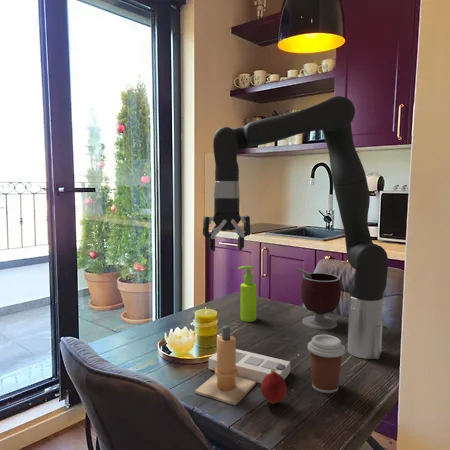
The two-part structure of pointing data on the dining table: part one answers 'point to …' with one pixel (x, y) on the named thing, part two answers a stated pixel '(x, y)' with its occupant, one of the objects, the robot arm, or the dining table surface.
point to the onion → (273, 387)
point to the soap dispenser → (248, 296)
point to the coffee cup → (325, 362)
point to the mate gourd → (320, 298)
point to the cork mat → (229, 396)
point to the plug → (226, 360)
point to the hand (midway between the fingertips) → (226, 250)
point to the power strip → (255, 365)
